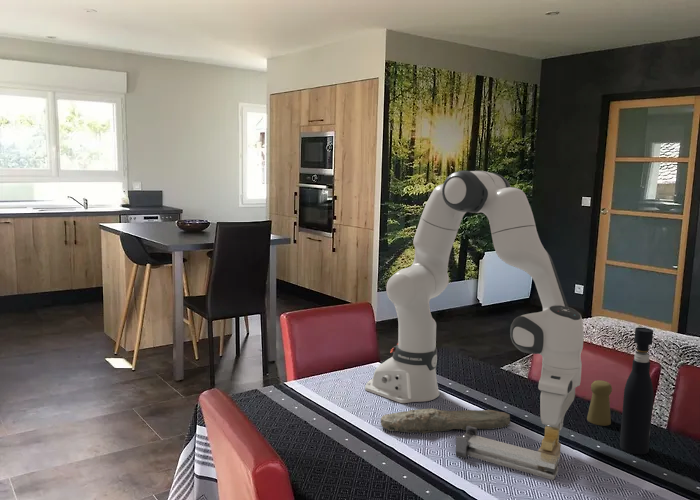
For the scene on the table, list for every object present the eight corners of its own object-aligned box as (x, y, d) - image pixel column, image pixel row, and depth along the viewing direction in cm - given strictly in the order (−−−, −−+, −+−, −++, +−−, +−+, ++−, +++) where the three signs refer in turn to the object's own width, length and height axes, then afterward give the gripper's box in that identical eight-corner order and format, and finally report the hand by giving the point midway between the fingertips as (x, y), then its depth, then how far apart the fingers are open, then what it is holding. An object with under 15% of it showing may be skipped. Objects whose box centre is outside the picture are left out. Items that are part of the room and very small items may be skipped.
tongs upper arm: (457, 447, 140) (458, 437, 140) (465, 439, 144) (465, 429, 144) (553, 473, 129) (554, 462, 128) (558, 464, 133) (559, 453, 132)
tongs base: (455, 455, 140) (456, 436, 139) (466, 443, 146) (467, 425, 145) (551, 483, 128) (553, 462, 127) (559, 469, 134) (561, 449, 133)
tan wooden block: (537, 464, 136) (538, 450, 135) (544, 453, 141) (545, 439, 141) (553, 469, 134) (554, 454, 133) (559, 457, 139) (560, 443, 139)
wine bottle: (614, 442, 147) (624, 326, 143) (638, 441, 148) (649, 325, 143) (628, 455, 141) (639, 333, 136) (654, 454, 141) (665, 333, 137)
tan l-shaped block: (539, 448, 135) (540, 433, 135) (545, 440, 140) (546, 425, 139) (553, 452, 134) (554, 437, 133) (558, 443, 138) (559, 428, 137)
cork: (613, 426, 156) (616, 387, 155) (589, 424, 157) (592, 385, 156) (608, 417, 162) (611, 378, 160) (585, 415, 163) (587, 377, 162)
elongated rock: (516, 437, 153) (502, 422, 163) (518, 417, 153) (503, 403, 162) (384, 436, 149) (377, 421, 158) (385, 415, 148) (378, 402, 158)
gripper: (557, 360, 151) (554, 411, 153) (536, 385, 134) (533, 442, 136) (583, 364, 148) (579, 417, 150) (565, 391, 130) (561, 449, 132)
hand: (557, 429), depth 143 cm, fingers closed
